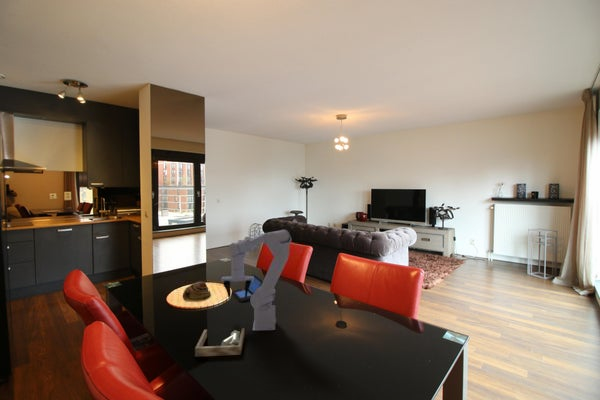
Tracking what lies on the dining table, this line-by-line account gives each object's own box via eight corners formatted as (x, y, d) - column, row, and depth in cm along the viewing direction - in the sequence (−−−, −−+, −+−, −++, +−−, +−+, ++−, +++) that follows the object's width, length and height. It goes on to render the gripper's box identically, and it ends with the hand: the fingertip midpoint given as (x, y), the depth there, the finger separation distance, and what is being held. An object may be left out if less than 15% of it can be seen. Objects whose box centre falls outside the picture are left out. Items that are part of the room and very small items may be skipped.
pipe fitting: (221, 353, 102) (239, 350, 103) (220, 343, 101) (239, 340, 103) (223, 341, 109) (240, 338, 111) (222, 332, 109) (239, 329, 110)
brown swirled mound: (206, 300, 147) (206, 286, 146) (178, 300, 147) (178, 285, 146) (214, 291, 160) (214, 277, 160) (188, 291, 160) (188, 277, 160)
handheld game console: (231, 293, 158) (231, 277, 157) (253, 289, 164) (253, 273, 164) (240, 303, 144) (240, 286, 144) (264, 298, 151) (264, 281, 151)
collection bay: (244, 335, 113) (244, 328, 113) (240, 354, 100) (240, 346, 100) (204, 336, 112) (204, 329, 111) (195, 356, 99) (195, 348, 98)
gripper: (254, 265, 133) (254, 292, 134) (223, 265, 132) (223, 293, 132) (252, 269, 126) (252, 298, 127) (220, 270, 125) (220, 299, 125)
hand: (237, 296), depth 129 cm, fingers open, 7 cm apart
